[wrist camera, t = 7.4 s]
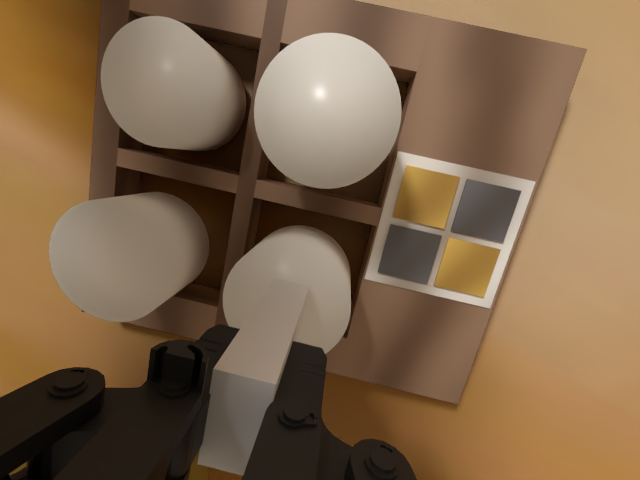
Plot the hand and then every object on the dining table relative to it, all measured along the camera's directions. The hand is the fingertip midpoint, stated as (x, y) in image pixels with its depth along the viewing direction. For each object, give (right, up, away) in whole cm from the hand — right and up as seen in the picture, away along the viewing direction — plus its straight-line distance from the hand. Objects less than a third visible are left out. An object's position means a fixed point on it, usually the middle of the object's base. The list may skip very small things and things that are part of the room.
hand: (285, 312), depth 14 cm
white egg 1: (-6, +11, +5) cm, 13 cm away
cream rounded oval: (0, +1, +4) cm, 5 cm away
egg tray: (+1, +6, +7) cm, 9 cm away
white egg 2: (-7, +3, +5) cm, 9 cm away
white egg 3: (+2, +9, +3) cm, 9 cm away
